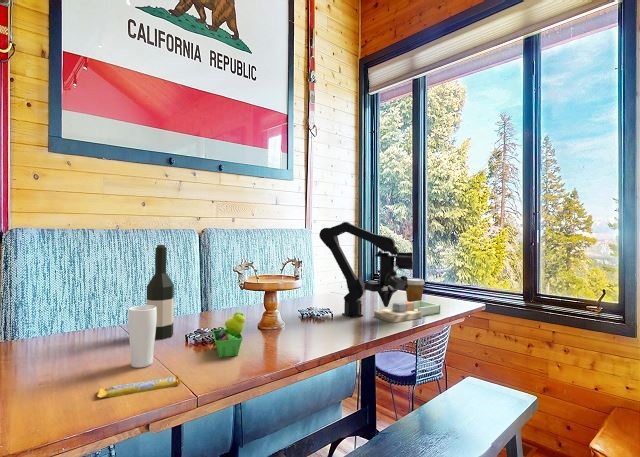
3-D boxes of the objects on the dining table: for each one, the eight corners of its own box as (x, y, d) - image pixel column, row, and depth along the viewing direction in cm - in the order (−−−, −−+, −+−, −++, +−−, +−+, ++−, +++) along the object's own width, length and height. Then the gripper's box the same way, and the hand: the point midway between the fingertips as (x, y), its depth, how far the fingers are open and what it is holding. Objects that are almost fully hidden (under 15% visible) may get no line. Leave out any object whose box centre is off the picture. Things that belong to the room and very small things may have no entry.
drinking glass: (148, 358, 102) (149, 303, 102) (160, 364, 98) (161, 307, 98) (122, 365, 97) (123, 307, 97) (134, 371, 93) (135, 312, 93)
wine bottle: (163, 340, 117) (164, 246, 117) (140, 338, 119) (141, 245, 118) (178, 333, 125) (179, 244, 125) (156, 331, 127) (157, 244, 127)
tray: (418, 316, 154) (419, 308, 154) (400, 311, 163) (400, 303, 163) (440, 313, 161) (440, 305, 161) (420, 308, 170) (421, 300, 170)
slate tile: (399, 312, 151) (399, 305, 151) (392, 310, 154) (392, 303, 154) (406, 311, 153) (406, 304, 153) (399, 309, 156) (399, 302, 156)
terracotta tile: (407, 311, 153) (407, 303, 153) (400, 309, 157) (400, 302, 157) (414, 310, 155) (414, 303, 155) (407, 308, 159) (407, 301, 159)
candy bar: (179, 380, 89) (179, 373, 89) (181, 387, 85) (182, 379, 85) (98, 394, 82) (98, 385, 82) (96, 402, 78) (97, 393, 78)
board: (392, 322, 144) (392, 316, 144) (374, 316, 153) (374, 310, 153) (421, 317, 152) (421, 312, 152) (402, 312, 161) (402, 306, 161)
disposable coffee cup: (426, 303, 180) (427, 279, 180) (420, 307, 172) (421, 281, 172) (407, 301, 185) (408, 277, 185) (401, 304, 177) (401, 279, 177)
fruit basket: (211, 346, 113) (212, 309, 112) (241, 344, 116) (241, 307, 116) (215, 359, 102) (215, 318, 102) (247, 356, 105) (248, 316, 105)
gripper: (382, 271, 138) (381, 313, 138) (418, 269, 148) (417, 308, 148) (363, 268, 147) (363, 307, 147) (398, 266, 157) (397, 303, 157)
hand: (386, 306), depth 150 cm, fingers closed
